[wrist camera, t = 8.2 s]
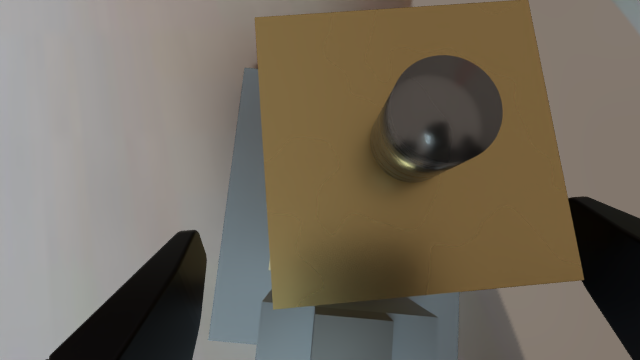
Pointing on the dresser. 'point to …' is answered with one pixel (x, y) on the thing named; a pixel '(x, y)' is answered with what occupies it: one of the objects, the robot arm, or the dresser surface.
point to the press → (311, 321)
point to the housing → (409, 154)
